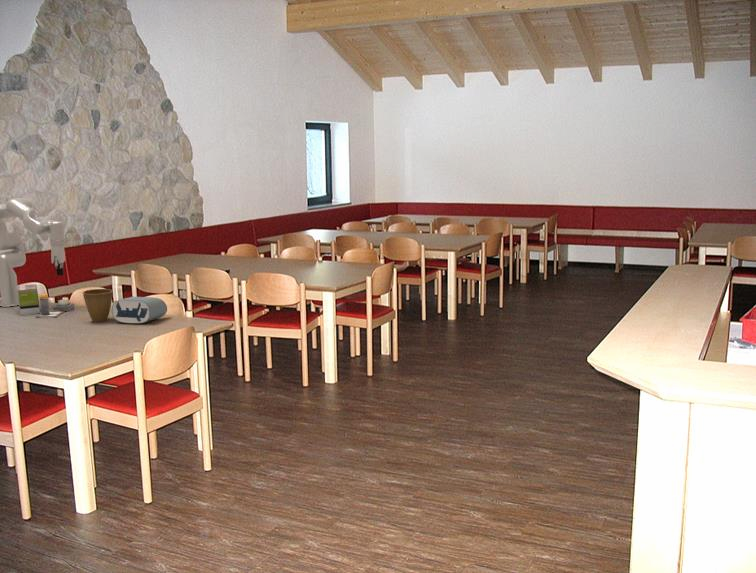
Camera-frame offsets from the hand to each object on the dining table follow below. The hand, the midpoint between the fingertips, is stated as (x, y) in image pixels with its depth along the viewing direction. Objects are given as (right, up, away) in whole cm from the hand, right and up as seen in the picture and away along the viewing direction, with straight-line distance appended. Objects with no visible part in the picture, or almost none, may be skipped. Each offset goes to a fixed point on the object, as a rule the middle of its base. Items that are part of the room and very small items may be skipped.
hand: (60, 275), depth 433 cm
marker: (-3, -22, -12) cm, 25 cm away
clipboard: (-1, -22, -10) cm, 24 cm away
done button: (+1, -18, +3) cm, 19 cm away
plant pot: (+32, -25, -26) cm, 48 cm away
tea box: (-17, -21, -1) cm, 27 cm away
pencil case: (+54, -25, -27) cm, 65 cm away
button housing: (+1, -20, +3) cm, 20 cm away
